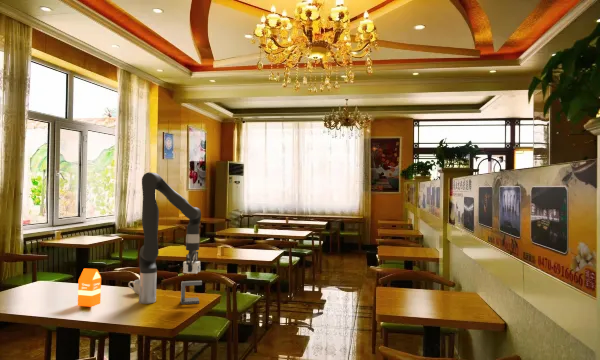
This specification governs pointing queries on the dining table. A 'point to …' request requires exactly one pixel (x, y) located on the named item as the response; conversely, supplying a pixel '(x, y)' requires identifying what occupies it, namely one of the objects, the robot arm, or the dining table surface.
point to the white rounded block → (194, 267)
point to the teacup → (135, 285)
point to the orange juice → (89, 288)
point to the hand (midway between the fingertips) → (191, 270)
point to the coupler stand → (183, 299)
